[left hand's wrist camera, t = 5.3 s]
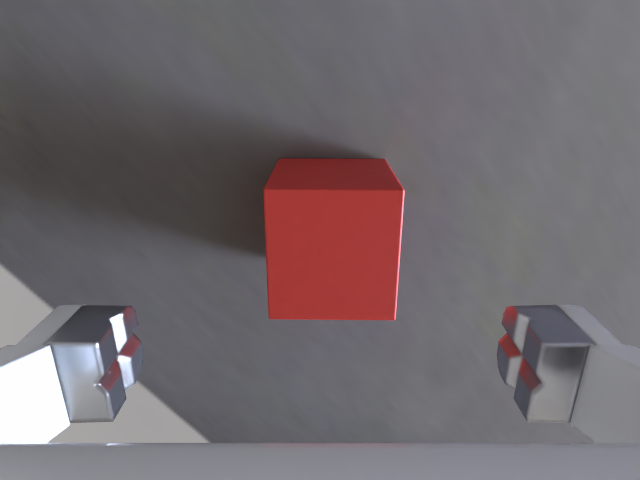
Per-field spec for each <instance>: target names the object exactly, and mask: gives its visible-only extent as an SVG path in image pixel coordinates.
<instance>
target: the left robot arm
mask: <svg viewBox="0 0 640 480" xmlns="http://www.w3.org/2000/svg"><path fill="white" fill-rule="evenodd" d="M137 325H138V320H137V315H136V310H135V309H134V308H133V307H132V306H115V305H84V304H83V305H61V306H58V307H57V308H56V309H54V310H53V311H52V312H51V313H50V314H49V315H48V316H47V317H46V318H45V319H44V320H43V321H41V322H40V323H39V324H38V325H37V326H36V327H35V328H34V329H33V330H32V331H31V332H30V333H28V334H27V335H26V336H25V337H24V338H23V339H22V340H21V341H20V342H19V343H18V344H16V345H7V346H5V347H2V348H0V480H640V348H638V347H635V346H633V345H624V344H622V343H621V342H620V341H619V340H618V339H617V338H616V337H615V336H614V335H613V334H612V333H611V332H609V331H608V330H607V329H606V328H605V327H604V326H603V325H602V324H601V323H600V322H599V321H598V320H596V319H595V318H594V317H593V316H592V315H591V314H590V313H589V312H588V311H587V310H586V309H585V308H583V307H582V306H580V305H576V304H573V305H534V306H509V307H506V309H505V311H504V314H503V319H502V325H503V327H504V328H505V330H506V331H507V333H506V334H505V335H504V336H503V337H502V338H501V339H500V341H499V343H498V350H497V360H498V368H499V371H500V375H501V377H502V379H503V381H504V383H505V384H506V385H508V386H509V387H511V388H512V389H514V390H515V394H514V400H515V402H516V403H517V405H518V407H519V409H520V410H521V412H522V414H523V415H524V417H525V419H526V421H527V422H558V423H570V425H571V426H572V427H574V428H575V429H576V430H578V431H579V432H580V433H582V434H583V435H584V436H586V437H587V438H588V439H590V440H591V441H592V442H593V443H47V442H48V441H49V440H51V439H52V438H53V437H55V436H56V435H57V434H59V433H60V432H61V431H62V430H64V429H65V428H67V427H68V426H69V425H70V423H82V422H113V421H114V419H115V417H116V415H117V414H118V412H119V410H120V408H121V407H122V405H123V403H124V402H125V400H126V394H125V390H126V389H128V388H129V387H131V386H132V385H134V384H135V382H136V381H137V379H138V377H139V375H140V371H141V367H142V363H143V349H142V343H141V341H140V339H139V338H138V337H137V336H136V335H135V334H134V333H133V331H134V330H135V328H136V327H137Z"/></svg>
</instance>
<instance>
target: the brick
mask: <svg viewBox="0 0 640 480" xmlns="http://www.w3.org/2000/svg"><path fill="white" fill-rule="evenodd" d="M263 196H264V219H265V242H266V265H267V288H268V311H269V319H316V320H395V318H396V303H397V289H398V275H399V261H400V247H401V233H402V218H403V204H404V189H403V187H402V186H401V184H400V182H399V181H398V179H397V178H396V176H395V174H394V173H393V171H392V170H391V168H390V166H389V165H388V163H387V162H386V160H385V159H295V158H280V159H279V160H278V162H277V164H276V166H275V168H274V170H273V172H272V174H271V175H270V177H269V179H268V181H267V183H266V185H265V187H264V190H263Z"/></svg>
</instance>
